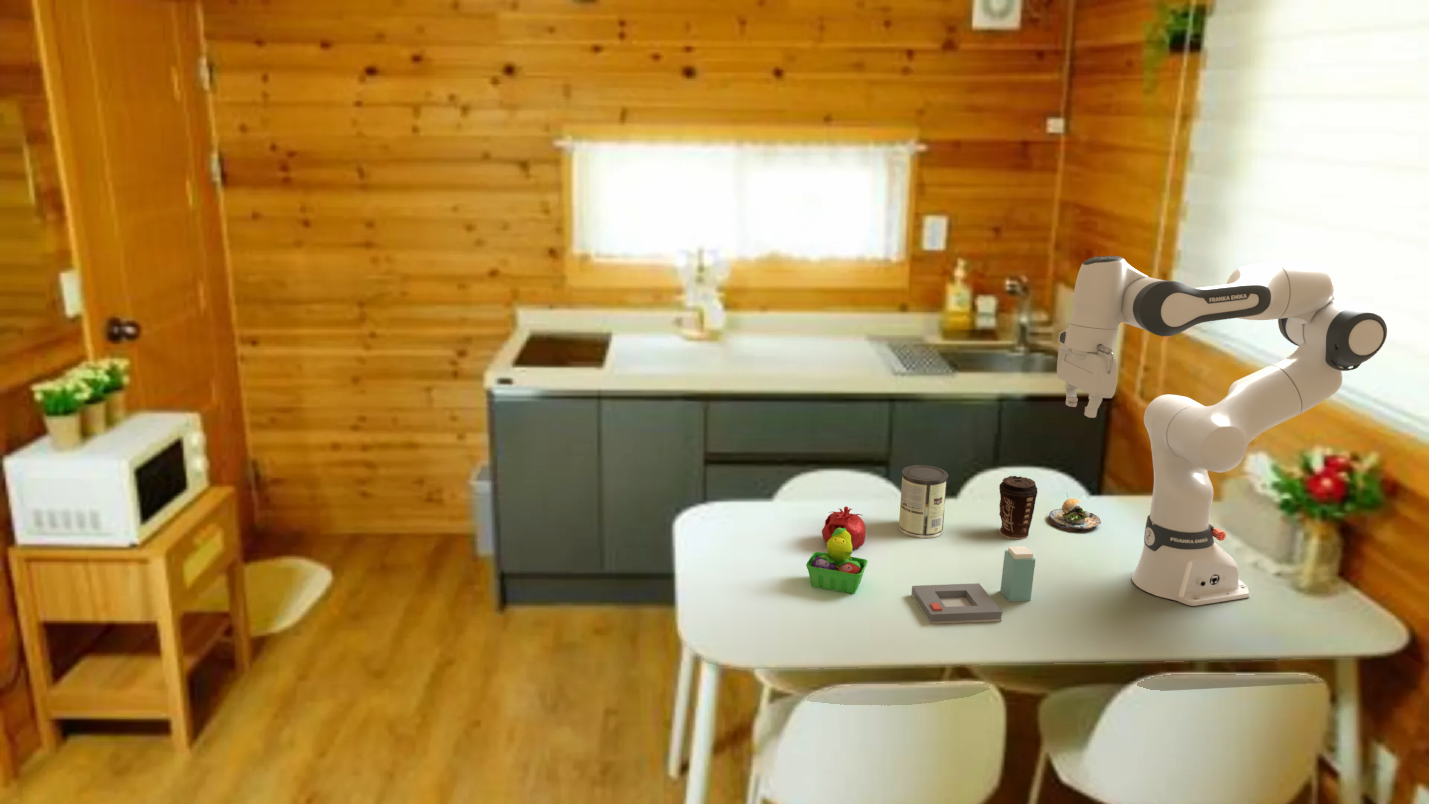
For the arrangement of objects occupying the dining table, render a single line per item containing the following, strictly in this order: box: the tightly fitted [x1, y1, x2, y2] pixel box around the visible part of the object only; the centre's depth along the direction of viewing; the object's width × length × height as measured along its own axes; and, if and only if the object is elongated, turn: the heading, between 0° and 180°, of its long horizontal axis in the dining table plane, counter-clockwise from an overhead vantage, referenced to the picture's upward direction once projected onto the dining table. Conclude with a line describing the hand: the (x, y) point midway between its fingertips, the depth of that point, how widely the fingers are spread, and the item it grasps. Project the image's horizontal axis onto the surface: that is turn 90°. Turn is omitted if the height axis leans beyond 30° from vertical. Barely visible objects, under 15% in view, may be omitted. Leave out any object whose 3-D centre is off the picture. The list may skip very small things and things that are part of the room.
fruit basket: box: [805, 528, 868, 595], centre depth 212 cm, size 11×9×11 cm
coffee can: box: [898, 464, 949, 539], centre depth 240 cm, size 10×10×14 cm
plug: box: [1000, 545, 1036, 602], centre depth 209 cm, size 4×4×10 cm
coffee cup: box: [998, 475, 1038, 540], centre depth 239 cm, size 9×8×13 cm
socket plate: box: [911, 582, 1003, 625], centre depth 205 cm, size 14×12×2 cm
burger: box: [1048, 492, 1102, 534], centre depth 246 cm, size 12×12×8 cm
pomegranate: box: [821, 506, 866, 551], centre depth 231 cm, size 10×10×9 cm
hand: (1080, 411), depth 202 cm, fingers open, 8 cm apart
